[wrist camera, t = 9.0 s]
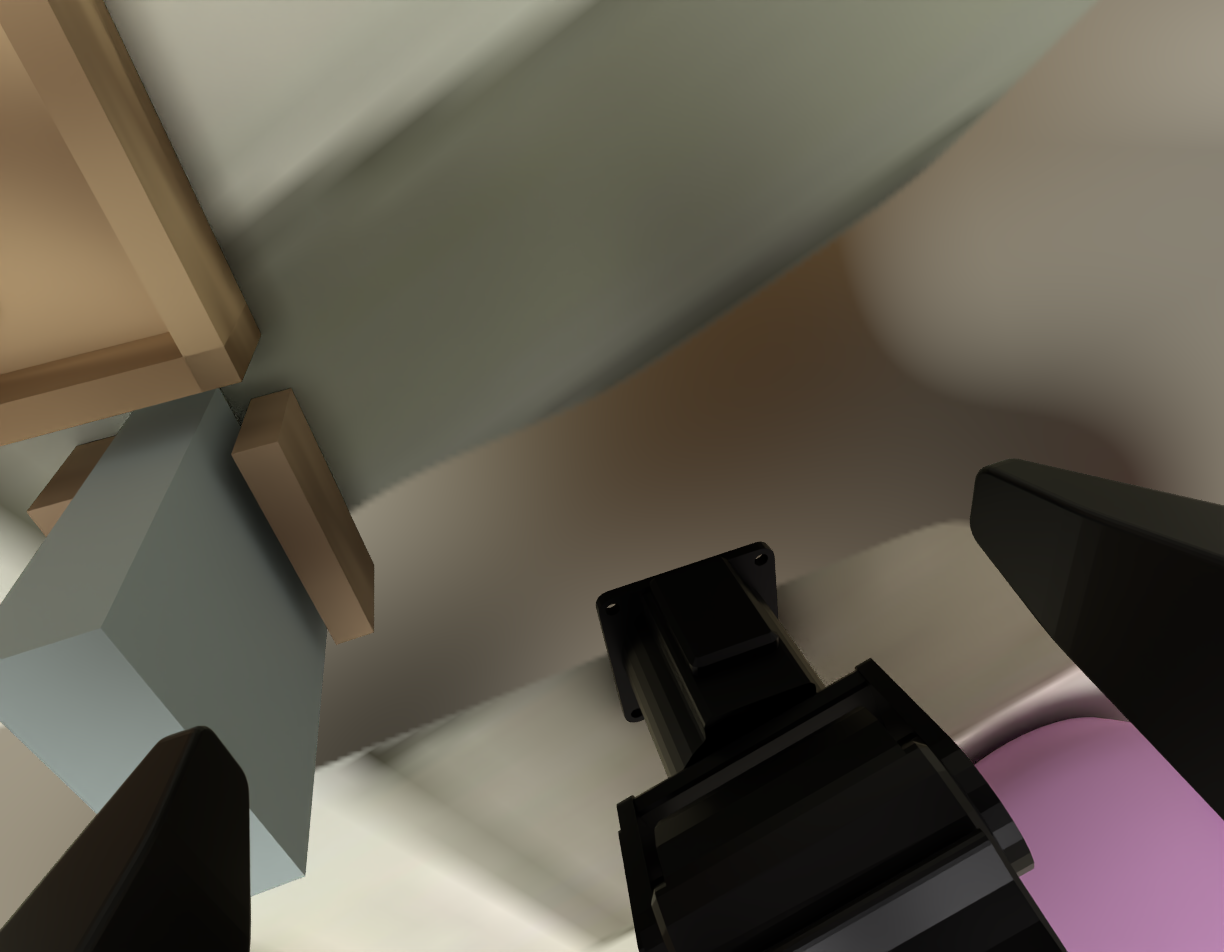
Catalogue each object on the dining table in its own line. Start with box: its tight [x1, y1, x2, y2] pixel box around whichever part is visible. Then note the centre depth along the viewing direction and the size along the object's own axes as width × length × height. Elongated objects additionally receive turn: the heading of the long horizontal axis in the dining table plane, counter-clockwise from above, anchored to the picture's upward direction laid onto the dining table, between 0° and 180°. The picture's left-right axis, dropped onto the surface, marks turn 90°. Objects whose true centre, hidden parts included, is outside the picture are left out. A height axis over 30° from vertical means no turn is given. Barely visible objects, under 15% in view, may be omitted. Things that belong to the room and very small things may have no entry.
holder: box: [27, 388, 374, 645], centre depth 18 cm, size 6×5×3 cm
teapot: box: [974, 717, 1224, 952], centre depth 36 cm, size 22×22×14 cm
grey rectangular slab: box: [0, 388, 327, 896], centre depth 16 cm, size 7×2×9 cm, turn 11°
